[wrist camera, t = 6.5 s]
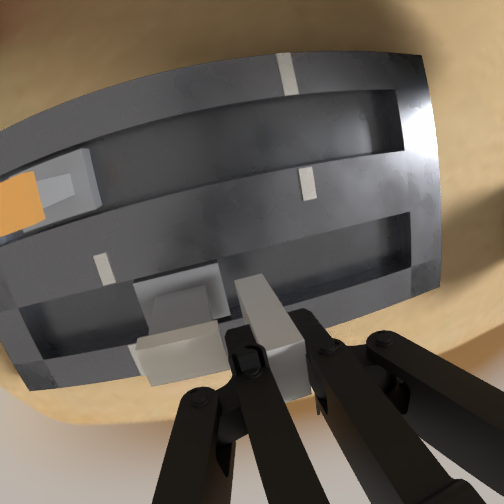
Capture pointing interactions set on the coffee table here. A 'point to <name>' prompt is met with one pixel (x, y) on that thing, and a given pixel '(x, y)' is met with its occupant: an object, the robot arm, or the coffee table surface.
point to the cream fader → (182, 323)
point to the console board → (225, 201)
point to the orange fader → (49, 193)
